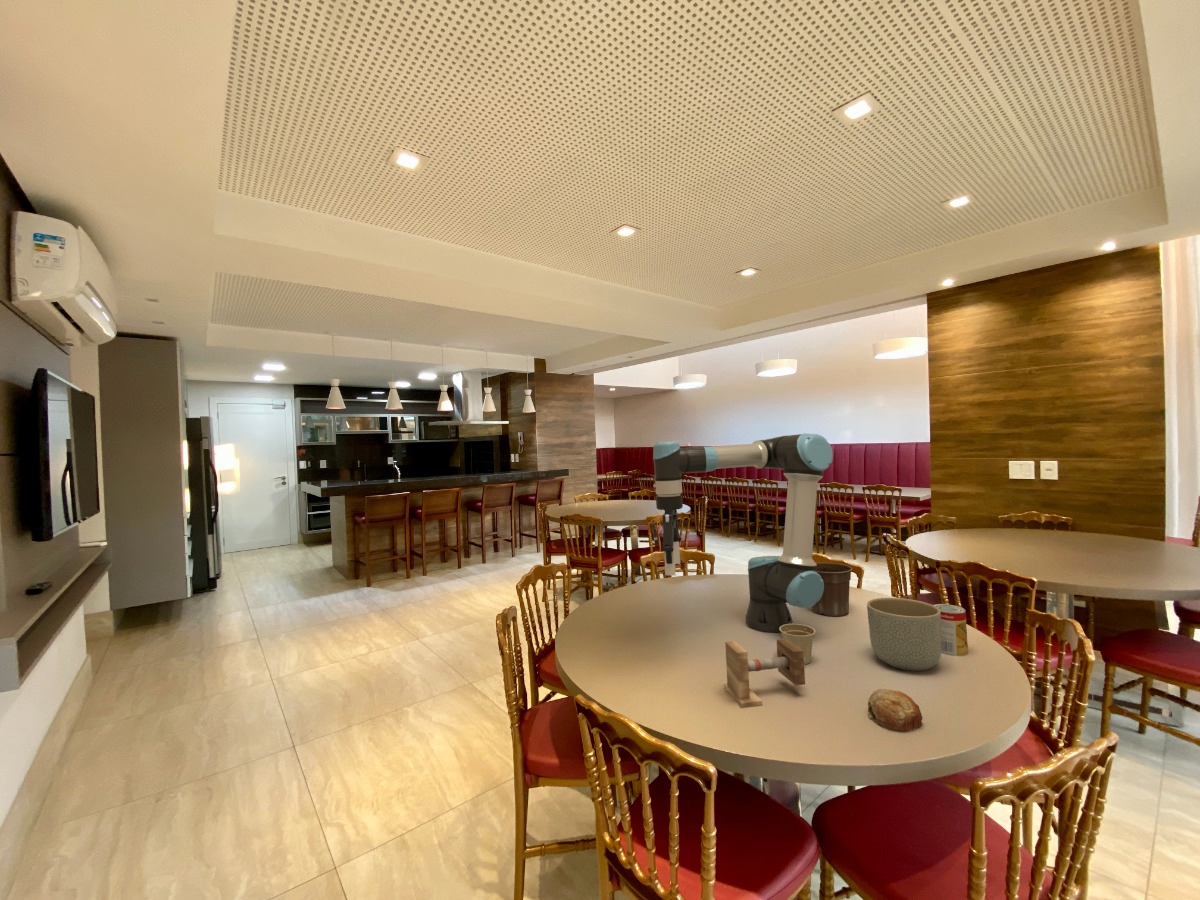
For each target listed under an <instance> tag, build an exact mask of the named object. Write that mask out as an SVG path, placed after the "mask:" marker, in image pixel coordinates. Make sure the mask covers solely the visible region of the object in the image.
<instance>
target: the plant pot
mask: <svg viewBox="0 0 1200 900" xmlns="http://www.w3.org/2000/svg"><path fill="white" fill-rule="evenodd" d="M815 563H816V564H817V569H816V572H817V573H818V574H819V575H820V576H821V579H823V582H824V591H823V594H822V597H821V598H820V600H819V601H818V602H816V604H815V605H813V606H812V607H811V610H812V612H814V613H816V614H818V615H824V616H829V617H843V616H846V615H847V614H849V613H850V608H849V607H850V582H851V576H852V571H853V566H852V567H851V566H850V565H847V564H842V563H837V562H836V563H834V562H815Z"/></svg>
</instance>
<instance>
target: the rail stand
mask: <svg viewBox="0 0 1200 900" xmlns="http://www.w3.org/2000/svg"><path fill="white" fill-rule="evenodd" d="M724 644H725V662H726V663H725V665H726V680H727V681H726V682H727V683H724V684H723V687H724V689H725V690H726V692H728V693H729V695H730V696H731V697H732V698H733V700H734V701H735V702H736V703H737V704H738V705H739V706H740V708H742V709H743V708H750V707H751V708H752V707H758V706H759V707H760V706H763V700H762V699H761V698H760V697H759V696H757V694H756V693H755V692H754V691H753V690H752V689H751V688H750V677H749V676H750V674H749V673H750V672H760V671H765V670H773V669H774V670H775V669H778V668H784V667H789V658H788V657H787V656H785V657H769V658H761V659H760V658H759V659H758V658H756V659H752V660H748V659H749V657H748V656H749V655H748V651H747V650H746V649H744V647H742V646H741V645H740V644H739V643H737V642H736V640H733V641H726V642H724ZM805 665H806V664H805V658H804V666H805Z"/></svg>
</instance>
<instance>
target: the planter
mask: <svg viewBox="0 0 1200 900" xmlns="http://www.w3.org/2000/svg"><path fill="white" fill-rule="evenodd" d="M934 605H935V604H931V603H928V602H925V601H920V600H916V599H910V598H904V597H903V598H902V597H901V598H900V597H879V598H873V599H870V600H869V601H867V603H866V609H867V619H868V631H869V639H870V645H871V648H872V650H873V652H874V654H875V655H876V656H877V658H879V660H881V661H882V662H884V663H885V664H886V665H888V666H891V667H894V668H896V669H900V670H904V671H909V672H921V671H927V670H929V669H931V668H934V667H935V666H936V665H937V664H938V663H939V661H940V660H941V656H942V653H941V612H940V609H939V608H937V607H936V606H934Z"/></svg>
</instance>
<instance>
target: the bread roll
mask: <svg viewBox="0 0 1200 900" xmlns="http://www.w3.org/2000/svg"><path fill="white" fill-rule="evenodd" d="M867 707H868V708H867V712H868V718H869V719H871V720H873V722H875V723H877V724H878V725H880V726H882V727H883V728H886V729H888V730H890V731H896V732H902V731H903V732H905V733H906V732H907V731H908V732H911V730H912V731H914V729H915V730H917V729H919V728H920V726H922V722H923V721H922V720H923V715H922V712H921V708H920V706H919V705H918V703H916V702H915V701H914V699H912V698H911V697H910V696H909V695H908V694H906V693H904V692H902V691H900V690H893V689H887V688H879V689H876V690H874V691H873V692H872V693H871V695H870V696H869V698H868V702H867ZM903 732H902V733H903ZM908 732H907V733H908Z"/></svg>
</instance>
